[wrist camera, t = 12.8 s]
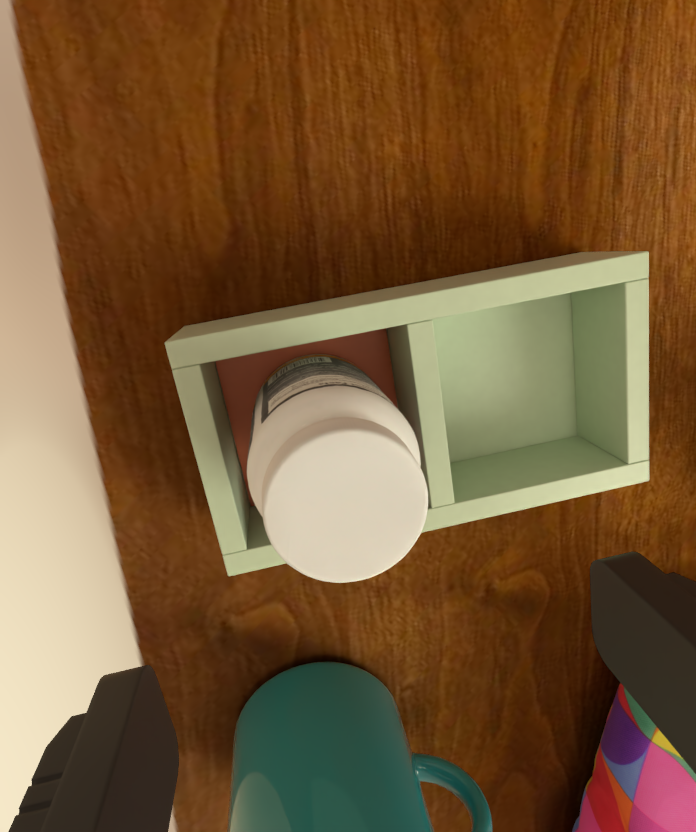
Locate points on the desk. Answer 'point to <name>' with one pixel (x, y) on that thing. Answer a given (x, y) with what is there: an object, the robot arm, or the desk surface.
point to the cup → (335, 759)
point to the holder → (447, 386)
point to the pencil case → (637, 778)
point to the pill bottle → (334, 470)
